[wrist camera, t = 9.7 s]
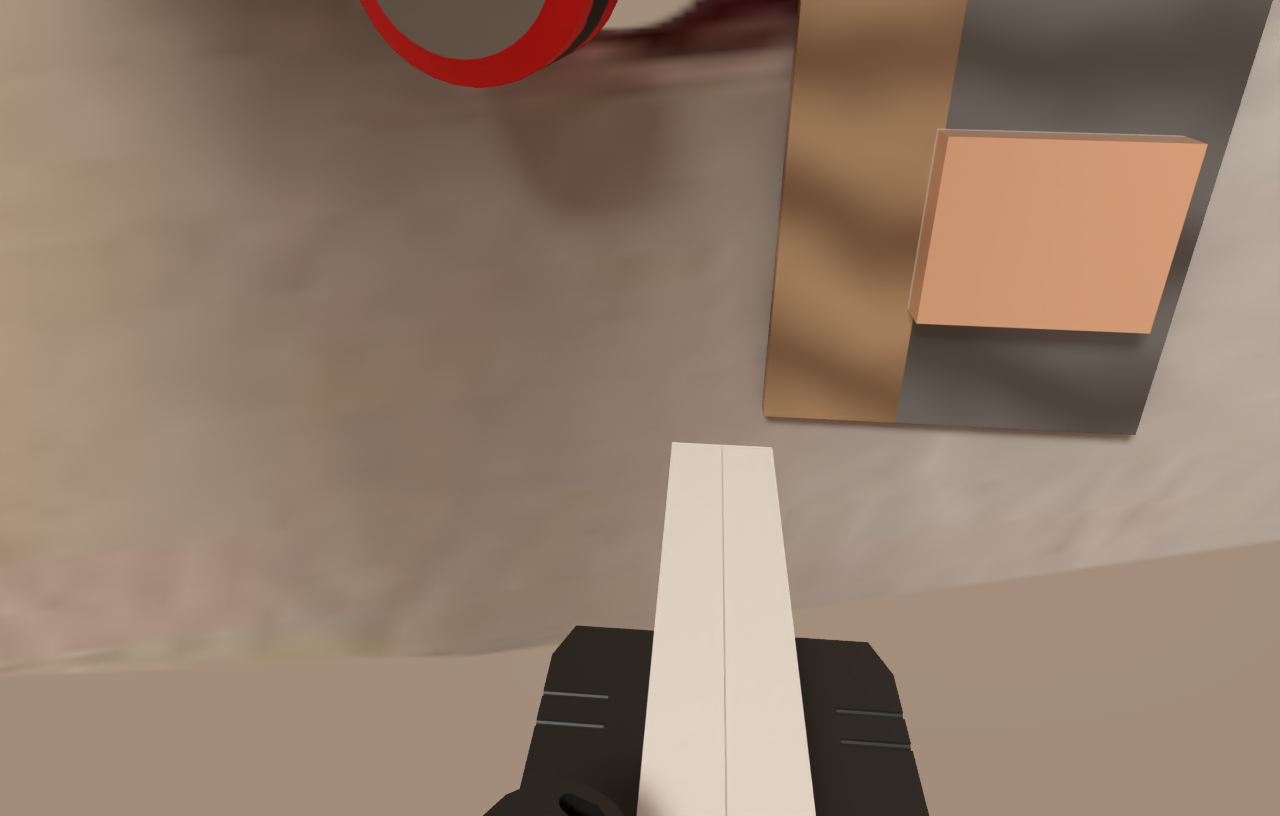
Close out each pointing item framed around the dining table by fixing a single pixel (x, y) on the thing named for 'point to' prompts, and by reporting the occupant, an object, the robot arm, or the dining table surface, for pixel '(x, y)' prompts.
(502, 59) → the soda can
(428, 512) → the dining table surface
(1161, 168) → the tile
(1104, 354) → the board
